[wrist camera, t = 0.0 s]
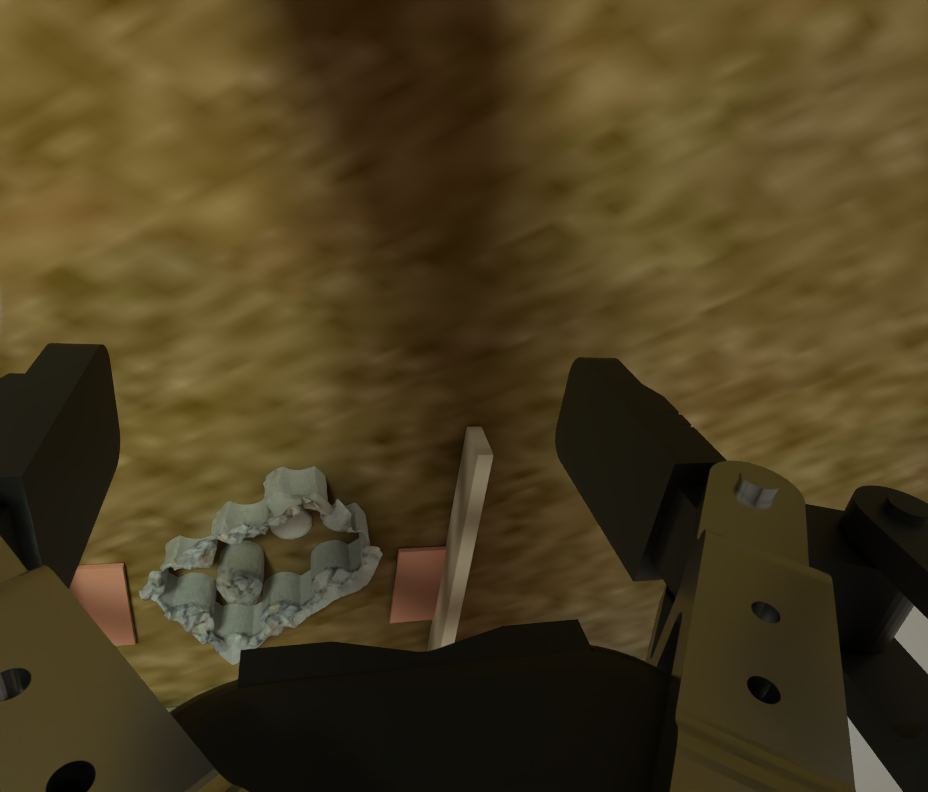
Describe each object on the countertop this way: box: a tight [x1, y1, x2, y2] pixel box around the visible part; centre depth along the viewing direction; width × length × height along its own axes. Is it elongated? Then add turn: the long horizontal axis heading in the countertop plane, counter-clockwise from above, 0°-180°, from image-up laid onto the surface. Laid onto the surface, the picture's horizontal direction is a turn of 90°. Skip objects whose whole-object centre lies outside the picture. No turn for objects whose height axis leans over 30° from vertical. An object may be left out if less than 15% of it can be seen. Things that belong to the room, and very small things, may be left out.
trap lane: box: [69, 427, 493, 712], centre depth 35 cm, size 22×22×3 cm
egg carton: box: [139, 466, 382, 665], centre depth 33 cm, size 11×8×4 cm
